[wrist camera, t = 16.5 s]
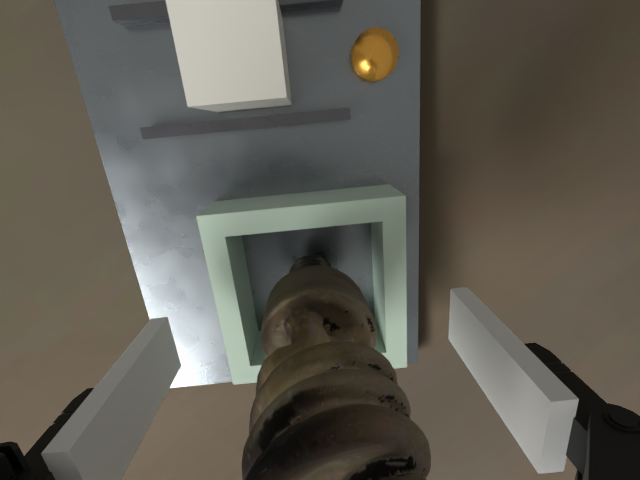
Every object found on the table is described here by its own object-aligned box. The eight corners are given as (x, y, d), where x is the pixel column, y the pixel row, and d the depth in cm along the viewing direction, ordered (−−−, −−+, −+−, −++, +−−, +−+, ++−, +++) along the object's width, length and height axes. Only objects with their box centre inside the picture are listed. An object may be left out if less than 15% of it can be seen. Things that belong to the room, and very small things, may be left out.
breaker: (218, 112, 18) (187, 106, 13) (203, 27, 17) (163, -12, 12) (292, 105, 18) (286, 97, 13) (282, 20, 17) (273, -22, 12)
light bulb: (374, 262, 21) (525, 552, 7) (323, 322, 23) (368, 660, 9) (302, 214, 20) (320, 463, 6) (253, 281, 21) (171, 611, 7)
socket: (243, 347, 23) (233, 384, 20) (214, 201, 20) (195, 216, 16) (392, 332, 23) (406, 367, 20) (389, 184, 20) (405, 195, 16)
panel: (176, 375, 25) (164, 398, 23) (7, -210, 14) (-43, -267, 12) (412, 352, 25) (422, 372, 23) (413, -247, 15) (431, -310, 13)
